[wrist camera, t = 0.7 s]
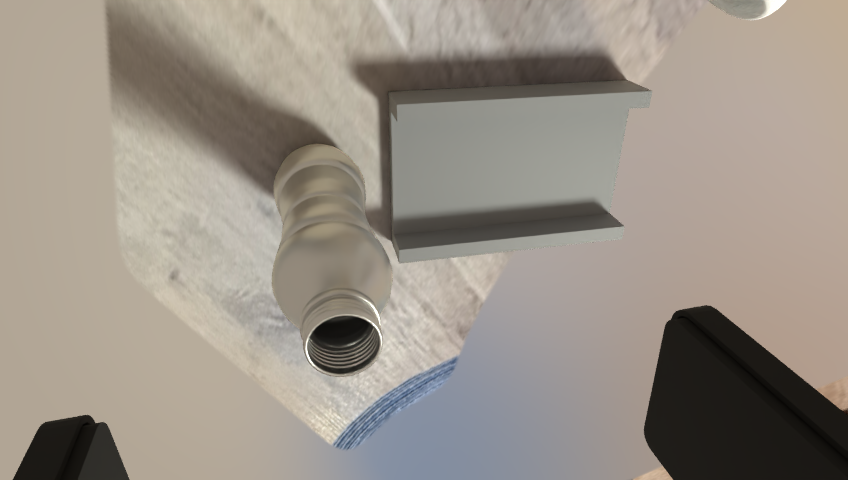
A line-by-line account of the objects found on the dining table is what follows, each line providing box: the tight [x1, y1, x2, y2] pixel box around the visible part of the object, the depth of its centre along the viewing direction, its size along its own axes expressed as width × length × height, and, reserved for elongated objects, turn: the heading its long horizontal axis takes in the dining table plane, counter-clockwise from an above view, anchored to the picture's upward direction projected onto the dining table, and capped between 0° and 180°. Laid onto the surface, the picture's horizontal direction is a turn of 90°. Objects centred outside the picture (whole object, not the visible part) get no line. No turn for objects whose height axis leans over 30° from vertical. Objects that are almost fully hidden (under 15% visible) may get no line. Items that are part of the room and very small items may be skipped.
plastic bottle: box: [272, 144, 393, 377], centre depth 34 cm, size 6×7×20 cm
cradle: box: [388, 80, 652, 263], centre depth 44 cm, size 12×19×4 cm, turn 90°
